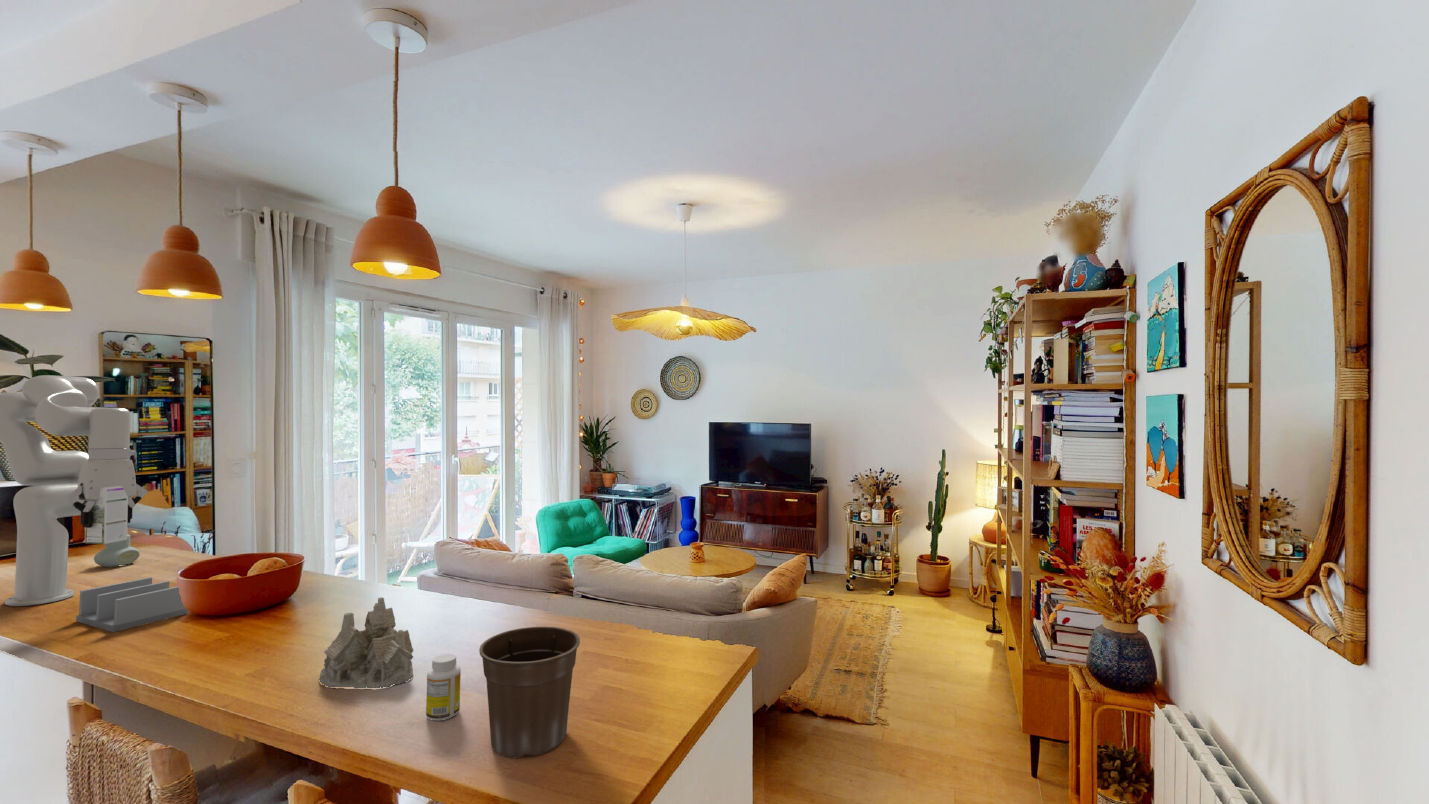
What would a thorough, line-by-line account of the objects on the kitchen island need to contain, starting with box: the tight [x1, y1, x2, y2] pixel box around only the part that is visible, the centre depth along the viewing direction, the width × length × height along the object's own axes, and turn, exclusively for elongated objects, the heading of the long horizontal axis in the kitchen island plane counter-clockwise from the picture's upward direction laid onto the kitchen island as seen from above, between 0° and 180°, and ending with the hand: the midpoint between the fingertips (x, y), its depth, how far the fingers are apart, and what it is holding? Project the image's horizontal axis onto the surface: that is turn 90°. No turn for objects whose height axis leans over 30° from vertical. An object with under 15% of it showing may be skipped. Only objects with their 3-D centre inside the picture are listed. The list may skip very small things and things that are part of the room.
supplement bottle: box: [425, 653, 462, 721], centre depth 108 cm, size 6×6×10 cm
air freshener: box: [93, 533, 141, 568], centre depth 202 cm, size 11×8×10 cm
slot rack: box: [75, 576, 189, 633], centre depth 153 cm, size 17×15×8 cm
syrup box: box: [84, 485, 128, 545], centre depth 154 cm, size 6×6×14 cm
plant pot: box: [478, 626, 581, 759], centre depth 101 cm, size 16×16×16 cm
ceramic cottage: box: [318, 597, 414, 688], centre depth 123 cm, size 16×16×15 cm
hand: (106, 524), depth 154 cm, fingers closed on syrup box, 6 cm apart
